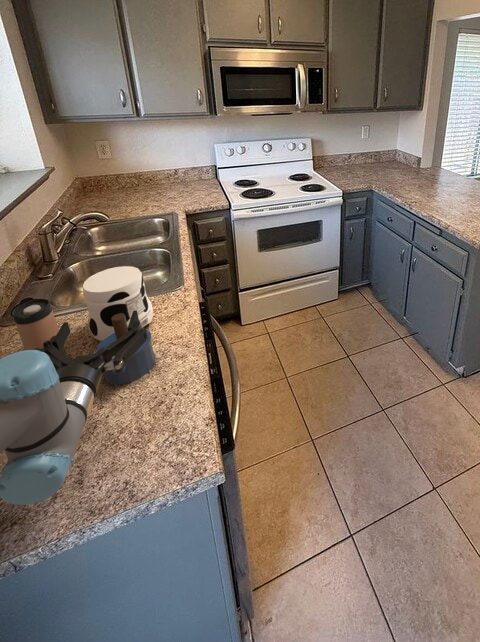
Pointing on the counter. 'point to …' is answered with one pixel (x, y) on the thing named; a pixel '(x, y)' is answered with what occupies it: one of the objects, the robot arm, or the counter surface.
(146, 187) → the counter surface
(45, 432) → the robot arm
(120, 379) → the pot
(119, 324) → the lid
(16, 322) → the travel mug
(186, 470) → the counter surface
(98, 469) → the counter surface
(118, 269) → the milk container
